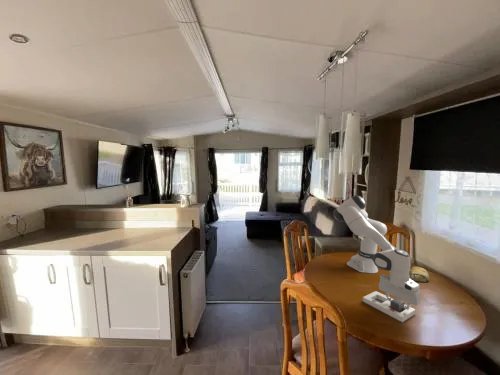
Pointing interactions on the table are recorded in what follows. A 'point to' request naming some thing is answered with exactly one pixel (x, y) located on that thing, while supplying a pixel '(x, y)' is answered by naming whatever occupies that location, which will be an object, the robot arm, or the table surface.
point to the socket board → (387, 306)
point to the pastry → (418, 274)
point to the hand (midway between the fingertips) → (397, 304)
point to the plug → (397, 305)
